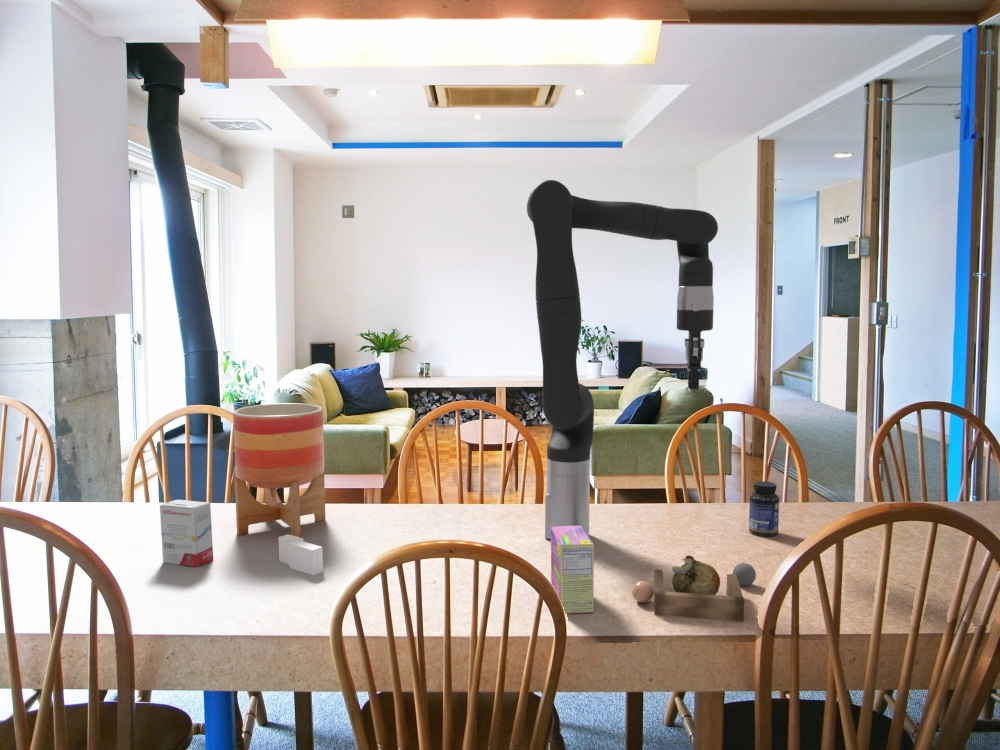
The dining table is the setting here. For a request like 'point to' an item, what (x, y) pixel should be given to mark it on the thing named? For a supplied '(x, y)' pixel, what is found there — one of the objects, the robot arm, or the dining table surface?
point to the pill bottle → (764, 509)
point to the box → (573, 568)
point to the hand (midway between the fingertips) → (693, 388)
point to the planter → (279, 463)
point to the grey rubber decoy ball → (744, 574)
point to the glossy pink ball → (642, 591)
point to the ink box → (186, 532)
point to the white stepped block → (300, 554)
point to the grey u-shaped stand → (699, 601)
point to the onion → (695, 577)
